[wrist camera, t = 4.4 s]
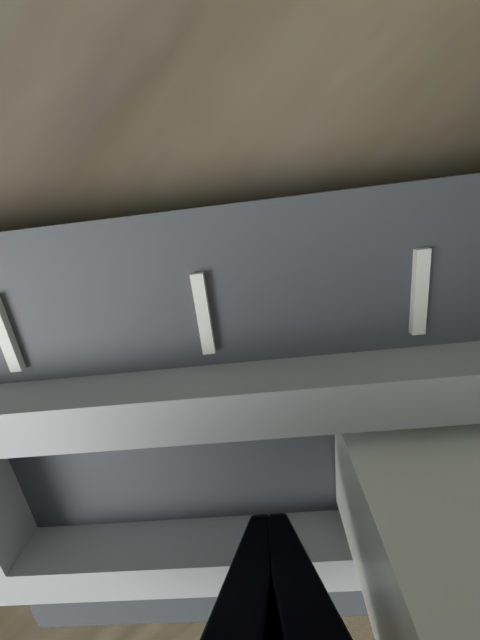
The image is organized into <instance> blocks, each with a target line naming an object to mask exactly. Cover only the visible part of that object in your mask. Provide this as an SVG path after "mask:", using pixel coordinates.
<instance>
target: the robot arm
mask: <svg viewBox="0 0 480 640" xmlns="http://www.w3.org/2000/svg"><path fill="white" fill-rule="evenodd" d="M200 640H353V639H352V637H351V635H350V633H349V632H348V630H347V628H346V626H345V624H344V622H343V620H342V618H341V616H340V614H339V613H338V611H337V609H336V607H335V605H334V603H333V601H332V599H331V597H330V596H329V594H328V592H327V590H326V588H325V586H324V584H323V582H322V580H321V578H320V577H319V575H318V573H317V571H316V569H315V567H314V565H313V563H312V561H311V559H310V558H309V556H308V554H307V552H306V550H305V548H304V546H303V544H302V542H301V541H300V539H299V537H298V535H297V533H296V531H295V529H294V527H293V525H292V523H291V522H290V520H289V518H288V516H287V515H286V513H284V512H281V513H270V514H269V515H268V514H254V515H252V516H251V517H250V519H249V521H248V524H247V526H246V529H245V531H244V534H243V536H242V538H241V541H240V543H239V546H238V548H237V551H236V553H235V555H234V558H233V560H232V563H231V565H230V568H229V570H228V572H227V575H226V577H225V580H224V582H223V585H222V587H221V589H220V592H219V594H218V597H217V599H216V602H215V604H214V606H213V609H212V611H211V614H210V616H209V619H208V621H207V623H206V626H205V628H204V631H203V633H202V636H201V638H200Z"/></svg>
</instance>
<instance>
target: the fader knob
mask: <svg viewBox="0 0 480 640" xmlns="http://www.w3.org/2000/svg"><path fill="white" fill-rule="evenodd" d="M335 471H336V501H337V505H338V508H339V512H340V515H341V519H342V523H343V526H344V530H345V533H346V537H347V541H348V544H349V548H350V551H351V555H352V558H353V562H354V566H355V569H356V573H357V576H358V580H359V584H360V587H361V591H362V594H363V598H364V601H365V605H366V609H367V612H368V616H369V619H370V623H371V626H372V630H373V634H374V637H375V640H480V424H470V425H456V426H443V427H429V428H415V429H402V430H388V431H375V432H361V433H347V434H335Z"/></svg>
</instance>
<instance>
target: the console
mask: <svg viewBox="0 0 480 640" xmlns="http://www.w3.org/2000/svg"><path fill="white" fill-rule="evenodd" d="M470 424H480V172H477V173H469V174H461V175H453V176H445V177H437V178H429V179H420V180H412V181H404V182H396V183H388V184H380V185H372V186H364V187H355V188H347V189H339V190H331V191H323V192H315V193H307V194H298V195H290V196H282V197H274V198H266V199H258V200H250V201H242V202H233V203H225V204H217V205H209V206H201V207H193V208H185V209H176V210H168V211H160V212H152V213H144V214H136V215H128V216H119V217H111V218H103V219H95V220H87V221H79V222H71V223H63V224H54V225H46V226H38V227H30V228H22V229H14V230H6V231H0V606H10V605H28V606H29V608H30V610H31V612H32V614H33V616H34V618H35V620H36V622H37V624H38V626H39V628H43V627H70V626H97V625H125V624H152V623H179V622H206V621H208V619H209V616H210V614H211V611H212V609H213V606H214V604H215V602H216V599H217V597H218V594H219V592H220V589H221V587H222V585H223V582H224V580H225V577H226V575H227V572H228V570H229V568H230V565H231V563H232V560H233V558H234V555H235V553H236V551H237V548H238V546H239V543H240V541H241V538H242V536H243V534H244V531H245V529H246V526H247V524H248V521H249V519H250V517H251V516H252V515H254V514H268V515H269V514H270V513H281V512H284V513H286V515H287V516H288V518H289V520H290V522H291V523H292V525H293V527H294V529H295V531H296V533H297V535H298V537H299V539H300V541H301V542H302V544H303V546H304V548H305V550H306V552H307V554H308V556H309V558H310V559H311V561H312V563H313V565H314V567H315V569H316V571H317V573H318V575H319V577H320V578H321V580H322V582H323V584H324V586H325V588H326V590H327V592H328V594H329V596H330V597H331V599H332V601H333V603H334V605H335V607H336V609H337V611H338V613H339V614H340V616H341V617H343V616H368V612H367V609H366V605H365V601H364V598H363V594H362V591H361V587H360V584H359V580H358V576H357V573H356V569H355V566H354V562H353V558H352V555H351V551H350V548H349V544H348V541H347V537H346V533H345V530H344V526H343V523H342V519H341V515H340V512H339V508H338V505H337V501H336V471H335V434H347V433H361V432H375V431H388V430H402V429H415V428H429V427H443V426H456V425H470Z"/></svg>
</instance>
